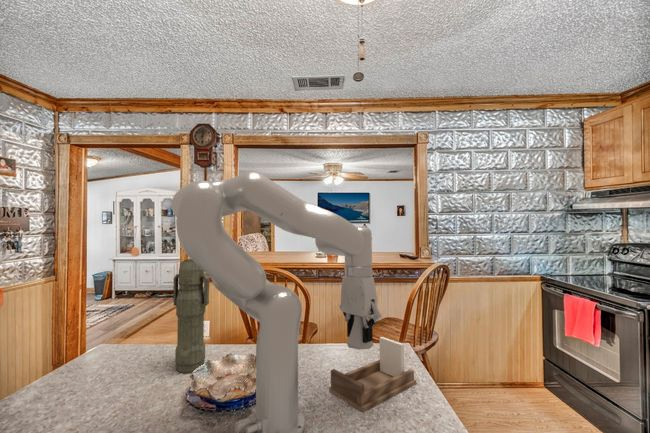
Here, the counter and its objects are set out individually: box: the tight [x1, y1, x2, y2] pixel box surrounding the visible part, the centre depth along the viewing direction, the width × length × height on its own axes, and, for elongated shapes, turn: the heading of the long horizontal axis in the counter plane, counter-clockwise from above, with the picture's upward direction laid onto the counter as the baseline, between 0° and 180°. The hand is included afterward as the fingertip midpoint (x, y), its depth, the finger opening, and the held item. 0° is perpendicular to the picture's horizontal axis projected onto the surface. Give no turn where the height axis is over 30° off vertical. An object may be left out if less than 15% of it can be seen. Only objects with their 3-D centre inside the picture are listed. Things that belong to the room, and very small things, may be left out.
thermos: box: [172, 258, 210, 375], centre depth 102 cm, size 9×12×35 cm
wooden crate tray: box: [328, 359, 417, 413], centre depth 88 cm, size 22×13×6 cm, turn 129°
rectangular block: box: [378, 336, 405, 377], centre depth 93 cm, size 1×8×10 cm, turn 39°
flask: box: [346, 316, 374, 350], centre depth 85 cm, size 7×7×10 cm
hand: (359, 338), depth 85 cm, fingers closed on flask, 5 cm apart
